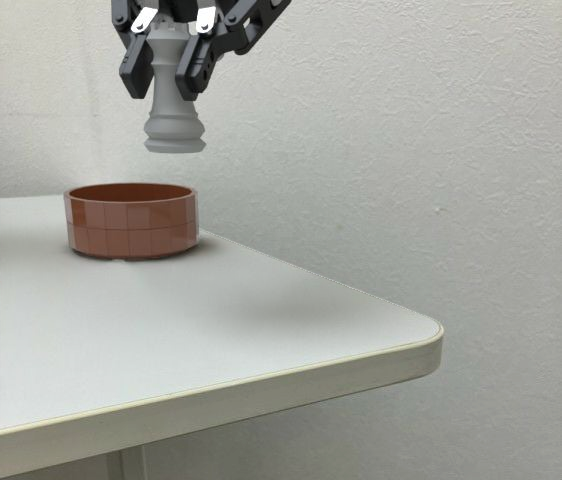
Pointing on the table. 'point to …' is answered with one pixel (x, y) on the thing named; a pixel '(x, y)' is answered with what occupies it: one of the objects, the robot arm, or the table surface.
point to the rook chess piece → (171, 96)
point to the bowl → (132, 219)
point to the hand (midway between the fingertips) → (158, 89)
